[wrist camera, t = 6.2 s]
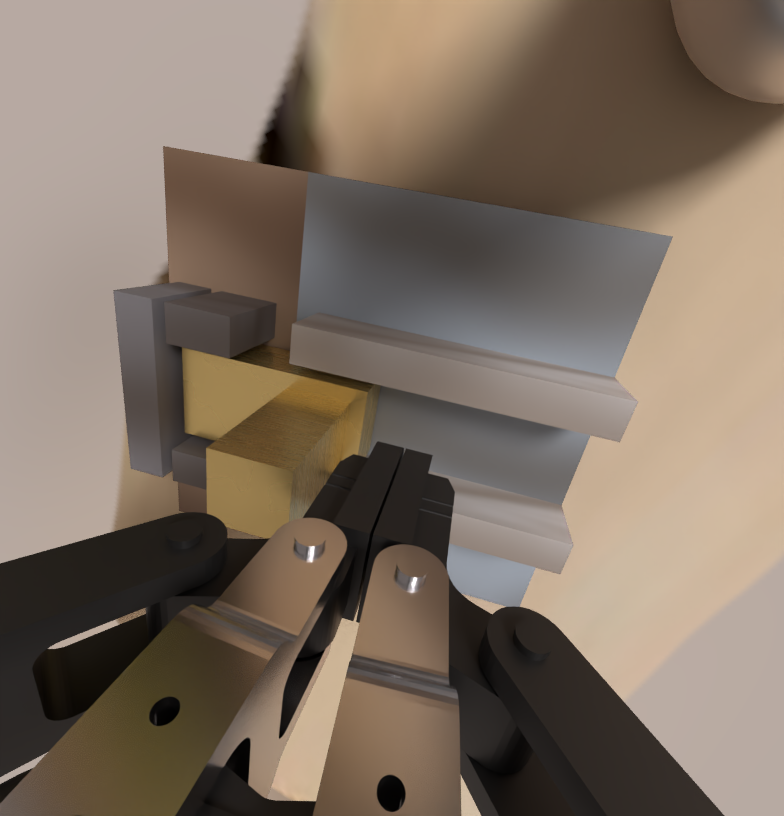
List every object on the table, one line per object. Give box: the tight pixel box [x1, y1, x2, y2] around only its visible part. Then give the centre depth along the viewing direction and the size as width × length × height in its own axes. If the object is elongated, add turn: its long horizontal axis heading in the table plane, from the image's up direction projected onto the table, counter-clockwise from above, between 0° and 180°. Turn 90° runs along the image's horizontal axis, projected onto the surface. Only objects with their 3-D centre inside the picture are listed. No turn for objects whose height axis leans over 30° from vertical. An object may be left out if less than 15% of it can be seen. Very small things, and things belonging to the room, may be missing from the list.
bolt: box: [182, 344, 381, 539], centre depth 12 cm, size 3×6×6 cm, turn 80°
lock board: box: [114, 146, 672, 607], centre depth 14 cm, size 14×15×4 cm
